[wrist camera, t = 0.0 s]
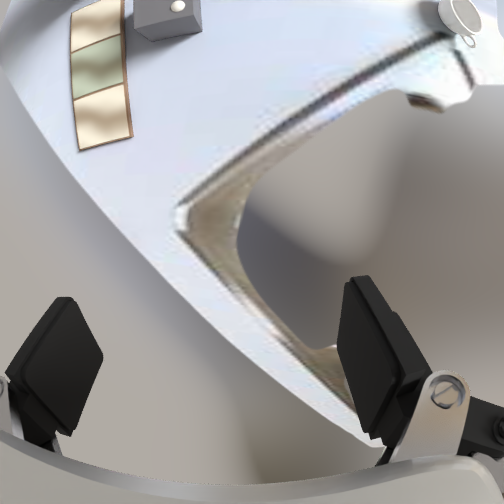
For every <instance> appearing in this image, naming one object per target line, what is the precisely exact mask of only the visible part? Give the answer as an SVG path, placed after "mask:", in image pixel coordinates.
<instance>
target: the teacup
mask: <svg viewBox="0 0 504 504" xmlns="http://www.w3.org/2000/svg"><path fill="white" fill-rule="evenodd" d="M438 12H439V16H440V18H441V20H442V21H443V23H444V24H445V25H446V26H447V27H448V28H449V29H450V30H451V31H453V32H455V33H457V34H459V35H460V36H461V37H462V39H463V40H464V41H465V43H466V44H467V45H468V46H469V47H471V48H475V47H476V45H477V42H476V39H475V37H474V35H479V34H481V33H482V31H483V22H482V18H481V16H480V13H479V11H478V10H477V8H476V7H475V5H474V4H473V3H472V2H471V1H470V0H441V1H440V2H439V5H438ZM466 36H468V37H470V38H471V39H472V40H473V42H474V45H473V46H471V45H470V44H469V43H468V41H467V39H466Z"/></svg>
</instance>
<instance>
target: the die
mask: <svg viewBox="0 0 504 504" xmlns="http://www.w3.org/2000/svg"><path fill="white" fill-rule="evenodd" d="M133 11H134V30H136V31H137V32H139V33H140V34H142V35H143V36H144V37H146V38H147V39H149V40H150V41H151V42H153V41H157V40H161V39H166V38H170V37H175V36H180V35H185V34H191V33H196V32H202V20H201V7H200V0H134V1H133Z"/></svg>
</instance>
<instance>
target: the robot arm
mask: <svg viewBox="0 0 504 504" xmlns="http://www.w3.org/2000/svg"><path fill="white" fill-rule="evenodd" d="M337 351H338V354H339V357H340V360H341V363H342V366H343V369H344V372H345V375H346V379H347V381H348V385H349V388H350V391H351V394H352V397H353V401H354V404H355V407H356V410H357V414H358V417H359V420H360V424H361V427H362V430H363V432H364V433H369V436H370V439H371V440H372V439H376V438H380V437H381V439H382V442H383V445H385V448H384V449H383V451H382V453H381V455H380V457H379V459H378V461H377V463H376V465H375V467H372V468H368V469H363V470H358V471H354V472H349V473H345V474H340V475H335V476H329V477H323V478H316V479H309V480H301V481H292V482H283V483H272V484H253V485H213V484H196V483H183V482H174V481H166V480H158V479H151V478H145V477H140V476H134V475H129V474H125V473H120V472H116V471H112V470H107V469H103V468H99V467H96V466H93V465H89V464H86V463H83V462H79V461H76V460H73V459H70V458H67V457H64V456H63V455H62V452H61V449H60V446H59V443H58V440H57V437H56V434H55V431H56V430H57V431H58V432H59V433H60V434H63V435H66V436H69V437H71V435H72V432H73V430H75V429H76V427H77V425H78V422H79V419H80V416H81V414H82V411H83V408H84V406H85V403H86V400H87V398H88V395H89V393H90V391H91V388H92V385H93V383H94V381H95V378H96V376H97V373H98V371H99V369H100V367H101V364H102V362H103V353H102V351H101V349H100V348H99V346H98V344H97V342H96V340H95V338H94V336H93V334H92V333H91V331H90V329H89V327H88V325H87V323H86V321H85V319H84V317H83V315H82V313H81V311H80V308H79V306H78V304H77V302H75V301H74V300H73V298H71V297H57V298H56V299H55V301H54V302H53V303H52V304H51V306H50V307H49V309H48V310H47V311H46V312H45V314H44V315H43V316H42V318H41V319H40V320H39V322H38V323H37V325H36V326H35V327H34V329H33V330H32V332H31V333H30V334H29V336H28V337H27V339H26V340H25V342H24V343H23V345H22V346H21V348H20V349H19V351H18V352H17V354H16V355H15V357H14V359H13V360H12V362H11V363H10V365H9V366H8V368H7V370H6V371H5V374H6V375H7V376H8V377H9V379H10V380H11V381H10V383H8V381H7V380H6V379H5V378H4V377H2V376H0V504H504V408H503V407H500V406H497V405H494V404H491V403H489V402H486V401H483V400H480V399H477V398H475V397H472V396H470V389H469V386H468V384H467V382H466V381H465V379H464V378H463V377H461V376H460V375H459V374H457V373H455V372H453V371H447V370H442V371H437V372H435V373H432V371H431V369H430V367H429V365H428V363H427V362H426V360H425V358H424V357H423V355H422V353H421V351H420V349H419V348H418V346H417V345H416V343H415V341H414V339H413V338H412V336H411V334H410V333H409V331H408V330H407V328H406V326H405V325H404V323H403V321H402V320H401V318H400V317H399V315H398V314H397V313H395V312H394V311H393V312H392V310H391V309H390V307H389V305H388V304H387V302H386V301H385V299H384V297H383V296H382V294H381V293H380V291H379V290H378V288H377V287H376V285H375V284H374V282H373V281H372V279H371V278H370V277H369V276H368V275H365V276H357V277H351V279H350V282H346V283H345V286H344V295H343V302H342V310H341V318H340V325H339V332H338V338H337Z"/></svg>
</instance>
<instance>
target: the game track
mask: <svg viewBox="0 0 504 504" xmlns="http://www.w3.org/2000/svg"><path fill="white" fill-rule="evenodd" d="M70 63H71V84H72V97H73V108H74V117H75V125H76V132H77V139H78V145H79V151H81V150H84V149H88V148H91V147H94V146H98V145H102V144H105V143H109V142H113V141H117V140H121V139H125V138H129V137H133V136H134V135H133V128H132V120H131V112H130V103H129V94H128V83H127V71H126V55H125V28H124V0H100V1H97V2H95V3H92V4H90V5H88V6H86V7H83V8H81V9H79V10H77V11H75V12H73V13H71V32H70Z"/></svg>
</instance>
